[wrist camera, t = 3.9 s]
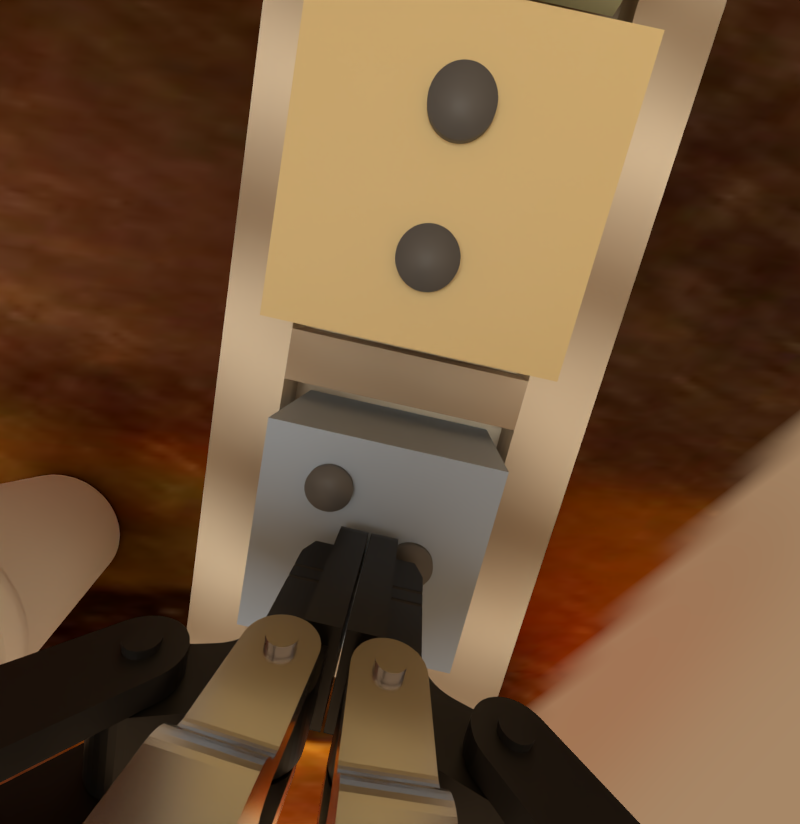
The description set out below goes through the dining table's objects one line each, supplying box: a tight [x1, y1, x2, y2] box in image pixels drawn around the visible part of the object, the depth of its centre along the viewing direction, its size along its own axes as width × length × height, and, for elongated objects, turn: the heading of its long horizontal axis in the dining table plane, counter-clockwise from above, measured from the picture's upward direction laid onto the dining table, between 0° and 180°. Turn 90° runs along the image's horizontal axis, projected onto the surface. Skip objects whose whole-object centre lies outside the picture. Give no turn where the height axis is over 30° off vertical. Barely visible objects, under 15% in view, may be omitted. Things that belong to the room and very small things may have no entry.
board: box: [187, 0, 727, 709], centre depth 13 cm, size 30×11×2 cm, turn 168°
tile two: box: [260, 0, 665, 382], centre depth 10 cm, size 6×6×4 cm
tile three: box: [237, 390, 509, 674], centre depth 13 cm, size 6×6×4 cm
